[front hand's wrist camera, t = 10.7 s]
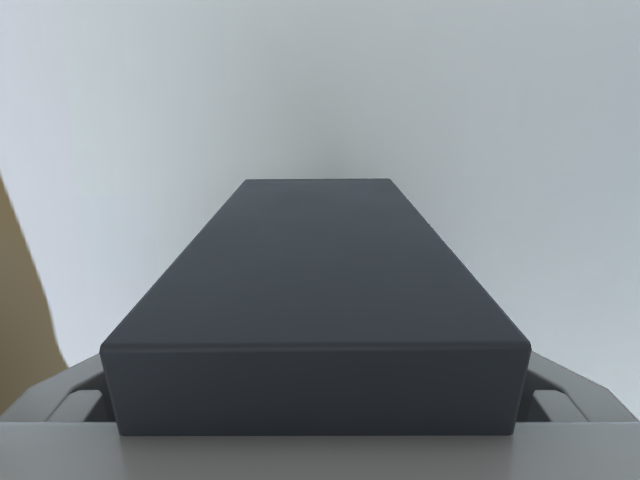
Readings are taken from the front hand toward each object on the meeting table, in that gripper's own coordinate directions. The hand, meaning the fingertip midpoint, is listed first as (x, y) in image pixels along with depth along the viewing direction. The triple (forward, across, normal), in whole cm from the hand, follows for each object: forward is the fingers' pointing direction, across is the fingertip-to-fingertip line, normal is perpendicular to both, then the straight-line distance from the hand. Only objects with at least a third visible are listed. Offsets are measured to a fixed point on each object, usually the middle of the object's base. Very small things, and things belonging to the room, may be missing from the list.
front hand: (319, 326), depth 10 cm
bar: (+4, 0, -8) cm, 10 cm away
